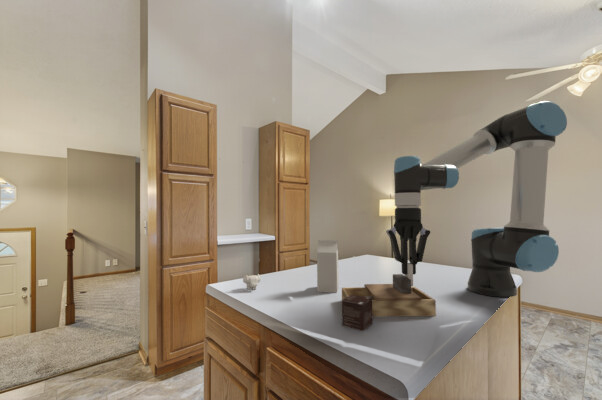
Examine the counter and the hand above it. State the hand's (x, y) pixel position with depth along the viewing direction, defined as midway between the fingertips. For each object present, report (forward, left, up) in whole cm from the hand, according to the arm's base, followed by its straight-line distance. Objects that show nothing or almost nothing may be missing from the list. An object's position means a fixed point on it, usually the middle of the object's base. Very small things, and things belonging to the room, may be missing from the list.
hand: (408, 285), depth 87 cm
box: (+18, +12, -8) cm, 23 cm away
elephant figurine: (+51, -25, -8) cm, 57 cm away
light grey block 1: (+11, -3, -7) cm, 13 cm away
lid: (+6, 0, -2) cm, 6 cm away
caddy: (+7, 0, -7) cm, 10 cm away
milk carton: (+22, -21, -8) cm, 31 cm away
